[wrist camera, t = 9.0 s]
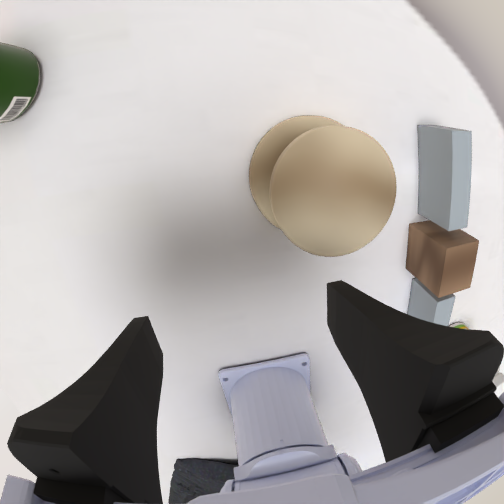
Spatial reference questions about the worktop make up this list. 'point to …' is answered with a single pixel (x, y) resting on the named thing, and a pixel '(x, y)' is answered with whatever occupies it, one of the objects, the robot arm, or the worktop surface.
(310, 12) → the worktop surface
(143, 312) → the worktop surface
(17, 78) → the beer can
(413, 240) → the block
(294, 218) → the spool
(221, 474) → the dark slate chunk
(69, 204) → the worktop surface
